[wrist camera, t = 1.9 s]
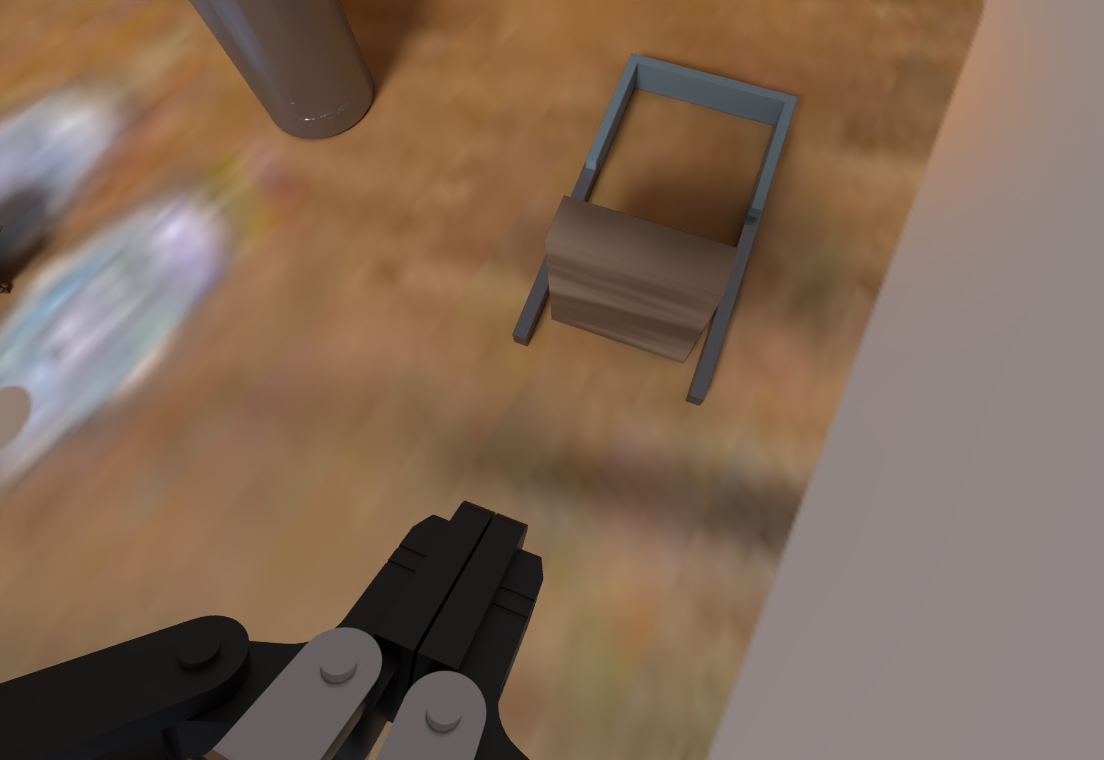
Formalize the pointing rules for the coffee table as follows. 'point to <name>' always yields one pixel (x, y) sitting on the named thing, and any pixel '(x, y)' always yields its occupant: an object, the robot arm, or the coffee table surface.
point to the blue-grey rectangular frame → (705, 93)
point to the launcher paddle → (633, 278)
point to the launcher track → (719, 317)
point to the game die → (3, 290)
